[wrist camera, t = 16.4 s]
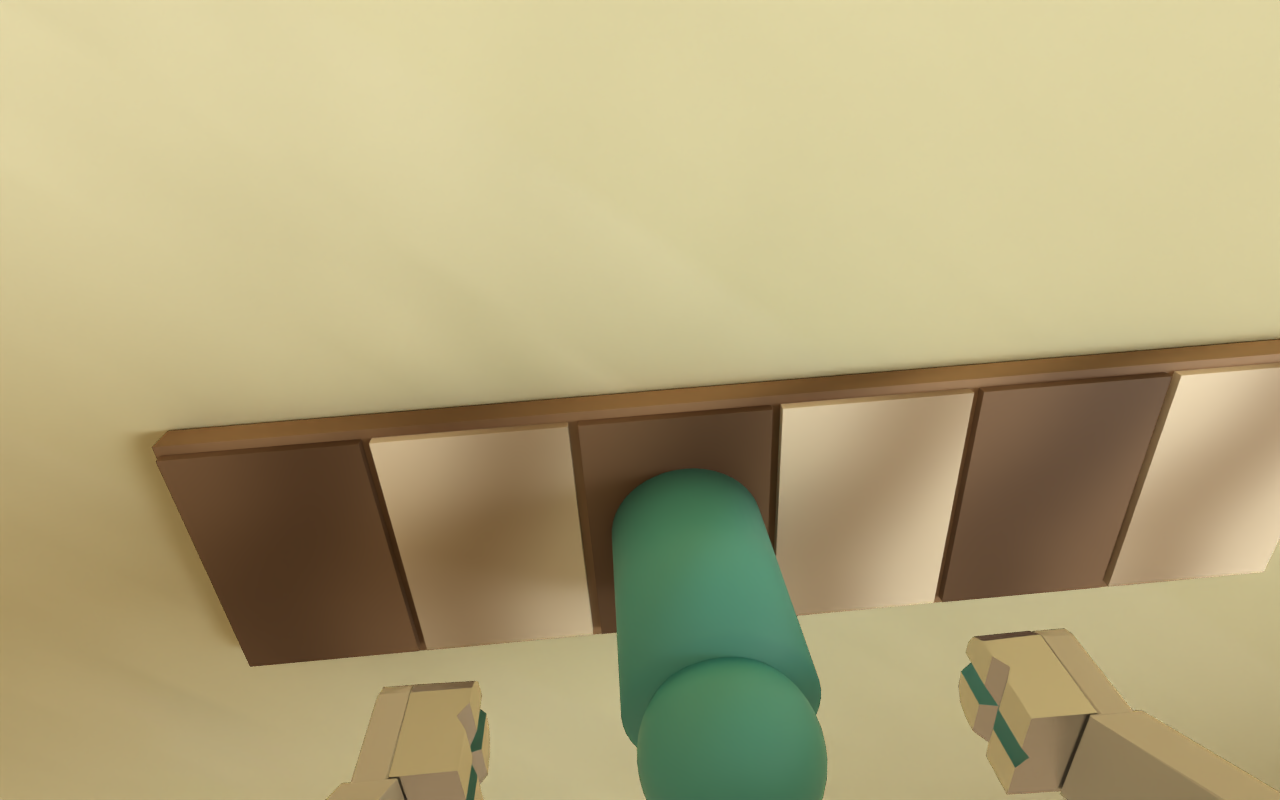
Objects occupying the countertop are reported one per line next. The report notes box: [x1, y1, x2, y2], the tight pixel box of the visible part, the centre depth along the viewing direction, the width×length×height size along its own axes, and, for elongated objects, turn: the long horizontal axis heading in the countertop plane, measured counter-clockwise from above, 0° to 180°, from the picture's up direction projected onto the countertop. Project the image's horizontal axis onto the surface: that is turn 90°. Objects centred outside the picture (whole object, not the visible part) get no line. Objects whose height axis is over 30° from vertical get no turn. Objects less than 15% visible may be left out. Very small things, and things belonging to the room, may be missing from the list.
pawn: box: [612, 468, 827, 800], centre depth 12 cm, size 3×3×7 cm
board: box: [152, 340, 1280, 667], centre depth 16 cm, size 24×6×1 cm, turn 93°
